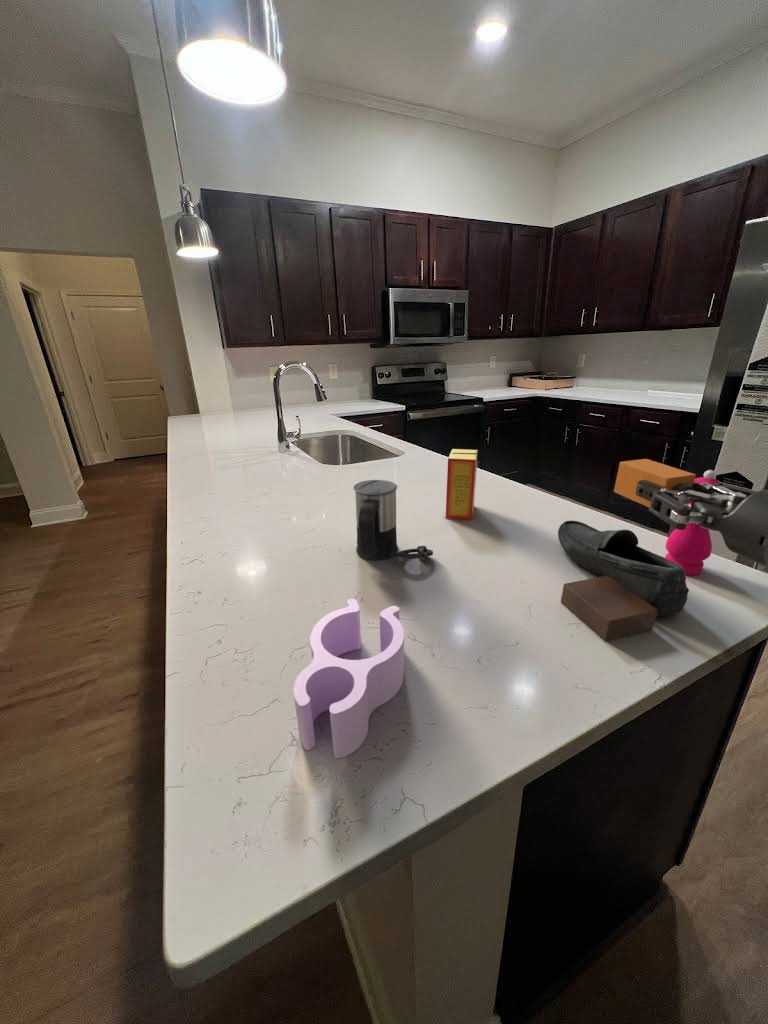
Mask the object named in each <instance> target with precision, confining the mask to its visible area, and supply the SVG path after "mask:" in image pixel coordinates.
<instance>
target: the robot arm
mask: <svg viewBox="0 0 768 1024" xmlns="http://www.w3.org/2000/svg"><path fill="white" fill-rule="evenodd" d="M693 488H694V490H695V491H693V490H686V491H683V492H680V491H676V490H672V489H669V488H666V487H663V486H660V485H657V484H655V483H652V482H649V481H647V480H640V481H638V484H637V488H636V495H637V496H639V497H641V498H644V499H646V500H649V501H651V505H650V508H649V507H648V511H649V512H650V513H652V514H653V515H654V516H656V517H658V518H660V520H662V521H663V522H665V523H667V524H668V525H669V526H671V527H672V528H674V529H679V530H685V529H686V526H687V523H696V524H699V525H700V526H701V527H702V528H706V529H709V531H714V532H719V533H720V535H721V537H722V539H723V542H724V544H725V546H726V548H727V549H728V550H729V551H731V552H732V553H735V554H737V555H739V556H741V557H742V558H745V559H748V560H750V561H751V562H754V563H756V564H758V565H761V566H763V567H765V568H767V569H768V489H761V490H753V489H749V488H745V487H739V486H736V485H730V484H727V483H724V482H721V483H715V485H714V486H712V485H710V484H708V483H705V482H703V483H697V482H694V484H693ZM671 496H672V497H676V498H678V500H679V501H677V500H676V499H674V498H672V497H671ZM690 498H693V499H694V500H693V501H692V504H691V508H690V507H689V501H690Z"/></svg>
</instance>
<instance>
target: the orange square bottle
mask: <svg viewBox="0 0 768 1024" xmlns="http://www.w3.org/2000/svg"><path fill="white" fill-rule="evenodd" d="M696 476H697V474H696V473H692V472H689V471H686V470H683V469H680V468H677V467H673V466H670V465H667V464H664V463H662V462H658V461H654V460H651V459H648V458H642V459H633V460H624V461H619V465H618V470H617V474H616V479H615V484H614V489H613V493H615V494H618V495H620V496H622V497H625V498H626V499H629V500H631V501H633V502H636V503H638V504H640V505H642V506H645V507H647V508H648V509H649V508H650V505H651V501H649V500H646V499H644V498H641V497H639V496H637V495H636V488H637V484H638V481H640V480H647V481H649V482H652V483H655V484H657V485H660V486H663V487H666V488H669V489H672V490H676V491H680V492H683V491H686V490H693V491H695V490H694V488H693V484H694V480H695V479H696V478H697V477H696ZM671 497H672V496H671ZM672 498H674V499H676V500H677V501H679V500H678V498H676V497H672ZM692 499H693V498H690V501H689V503H690V502H691V501H692Z"/></svg>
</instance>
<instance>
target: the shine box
mask: <svg viewBox="0 0 768 1024" xmlns="http://www.w3.org/2000/svg"><path fill="white" fill-rule="evenodd" d="M560 603H561V604H562V605H563V606H564V607H565V608H566V609H567V610H569V611H570V612H571V613H572V614H573V615H574V616H576V617H577V618H578V619H579V620H580V621H581V622H582V623H584V624H585V625H586V626H587V627H588V628H589V629H590V630H592V631H593V632H594V633H595V634H596V635H597V636H598V637H599V638H600V639H602V640H603V641H604V642H607V641H612V640H615V639H620V638H623V637H624V638H625V637H628V636H633V635H637V634H640V633H645V632H649V631H653V629H654V626H655V622H656V620H657V616H656V615H657V612H658V610H657V609H656V608H654V607H653V606H651V605H650V604H648V603H647V602H645V601H644V600H642V599H641V598H640V597H638V596H637V595H635V594H634V593H632V592H631V591H629V590H628V589H626V588H625V587H624V586H622V585H621V584H619V583H618V582H616V581H615V580H613V579H612V578H610V577H609V576H603V575H601V576H598V577H592V578H587V579H581V580H577V581H572V582H567V583H563V587H562V592H561V597H560Z"/></svg>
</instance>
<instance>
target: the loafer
mask: <svg viewBox="0 0 768 1024" xmlns="http://www.w3.org/2000/svg"><path fill="white" fill-rule="evenodd" d="M557 538H558V541H559V543H560V546H561V547H562V549H563V550H564V552H565V554H566V555H568V557H569V559H571V560H572V561H573V562H575V563H576V564H577V565H580V567H582V568H584V569H585V570H588V571H590V572H593V573H596V574H598V575H601V576H609V577H610V578H612V579H613V580H615V581H616V582H618V583H619V584H621V585H622V586H624V587H625V588H626V589H628V590H629V591H631V592H632V593H634V594H635V595H637V596H638V597H640V598H641V599H642V600H644V601H645V602H647V603H648V604H650V605H651V606H653V607H654V608H656V609H657V610H658V612H657V615H656V617H659V616H661V617H665V616H671V615H675V614H678V613H680V612H682V611H683V610H684V608H685V605H686V603H687V601H688V594H689V592H690V589H689V588H688V586H687V582H686V581H687V575H685V570H684V569H683V568H682V567H681V566H680V565H678V564H676V563H674V562H673V561H671V560H669V559H666V558H665V556H662V555H659V554H657V553H654V552H651V551H650V550H647V549H646V548H643V547H641V546H638V545H639V539H638V537H637V535H636V533H635V532H633V531H632V530H630V529H616V530H615V529H614V530H611V529H609V530H599V529H596V528H595V527H592V526H590V525H588V524H587V523H584V522H582V521H577V520H565V521H564V522H563V523H561V524H560V526H559V528H558V530H557Z"/></svg>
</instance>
